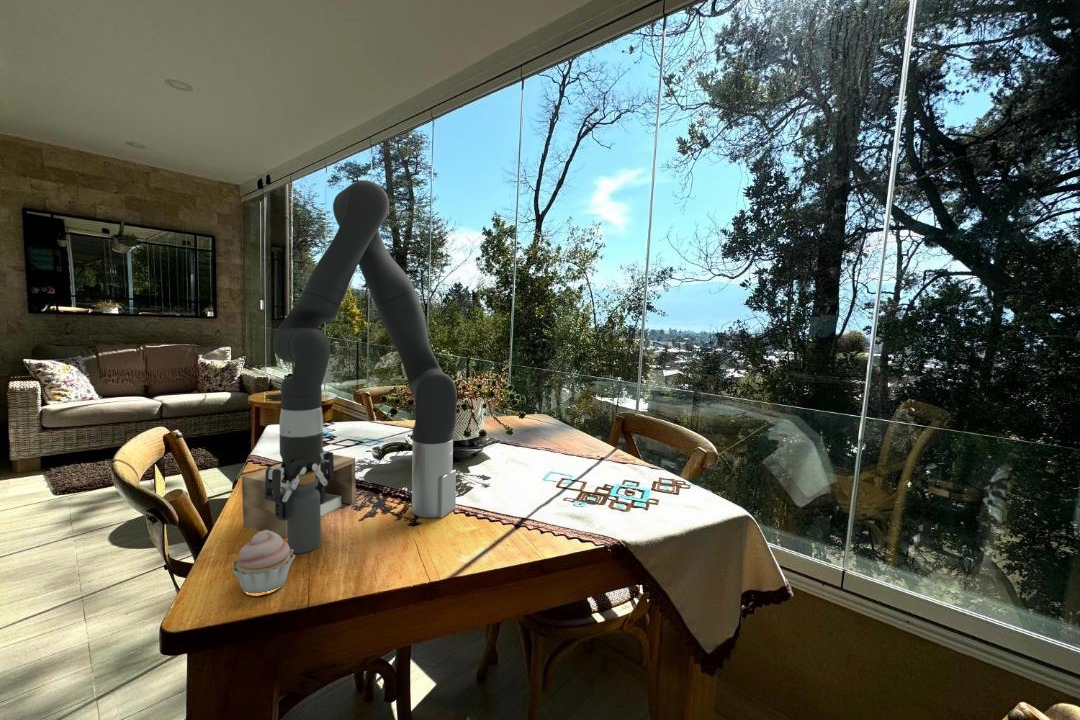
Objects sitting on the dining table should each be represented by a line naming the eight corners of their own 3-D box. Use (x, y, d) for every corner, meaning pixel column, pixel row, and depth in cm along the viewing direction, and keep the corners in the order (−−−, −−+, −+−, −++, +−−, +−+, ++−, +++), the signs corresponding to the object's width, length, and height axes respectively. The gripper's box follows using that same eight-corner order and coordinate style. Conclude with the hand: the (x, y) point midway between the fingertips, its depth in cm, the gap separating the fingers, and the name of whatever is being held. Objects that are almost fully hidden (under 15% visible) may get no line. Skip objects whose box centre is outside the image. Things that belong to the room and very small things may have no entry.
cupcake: (269, 607, 76) (268, 546, 75) (218, 599, 78) (215, 539, 77) (308, 575, 85) (307, 521, 84) (261, 568, 87) (259, 515, 86)
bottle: (312, 554, 92) (310, 478, 91) (281, 553, 93) (280, 477, 91) (326, 539, 98) (325, 468, 97) (297, 538, 98) (296, 467, 97)
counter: (355, 502, 117) (355, 458, 116) (286, 537, 98) (284, 485, 97) (317, 494, 121) (316, 451, 120) (243, 526, 103) (241, 476, 101)
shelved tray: (341, 505, 115) (341, 482, 114) (292, 530, 102) (292, 503, 101) (315, 500, 118) (315, 477, 117) (264, 523, 104) (263, 497, 104)
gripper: (284, 441, 85) (284, 529, 87) (344, 425, 98) (343, 502, 100) (253, 435, 88) (254, 521, 90) (316, 420, 101) (315, 495, 103)
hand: (301, 511), depth 95 cm, fingers open, 8 cm apart
